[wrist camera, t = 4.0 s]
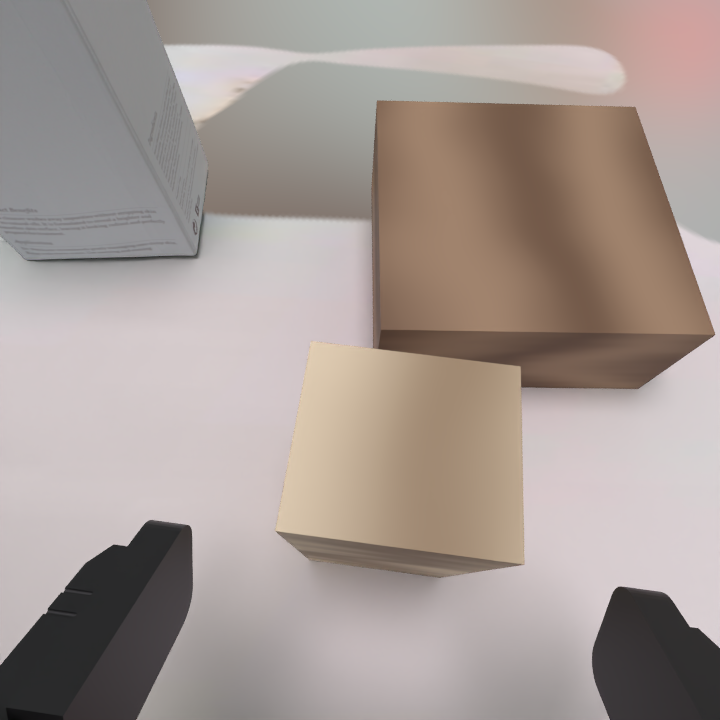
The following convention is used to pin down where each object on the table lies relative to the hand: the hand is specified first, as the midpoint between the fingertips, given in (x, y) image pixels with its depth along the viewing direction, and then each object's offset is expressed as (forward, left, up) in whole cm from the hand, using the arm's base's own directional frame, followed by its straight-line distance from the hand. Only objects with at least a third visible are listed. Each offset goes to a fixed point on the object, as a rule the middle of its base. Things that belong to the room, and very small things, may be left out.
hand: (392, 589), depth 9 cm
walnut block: (+4, +14, -9) cm, 17 cm away
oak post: (0, +3, -8) cm, 9 cm away
